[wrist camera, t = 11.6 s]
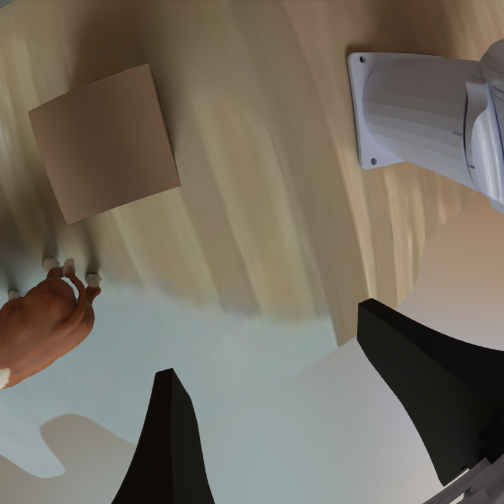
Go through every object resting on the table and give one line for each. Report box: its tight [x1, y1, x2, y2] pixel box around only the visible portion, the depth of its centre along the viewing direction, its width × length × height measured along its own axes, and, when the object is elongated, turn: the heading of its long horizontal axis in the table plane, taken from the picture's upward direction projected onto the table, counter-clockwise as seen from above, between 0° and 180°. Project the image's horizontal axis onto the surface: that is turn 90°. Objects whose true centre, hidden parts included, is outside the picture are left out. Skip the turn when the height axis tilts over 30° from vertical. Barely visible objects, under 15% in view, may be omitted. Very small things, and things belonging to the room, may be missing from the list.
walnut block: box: [28, 63, 181, 225], centre depth 13 cm, size 5×5×6 cm
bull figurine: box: [0, 257, 102, 390], centre depth 15 cm, size 4×13×8 cm, turn 109°
